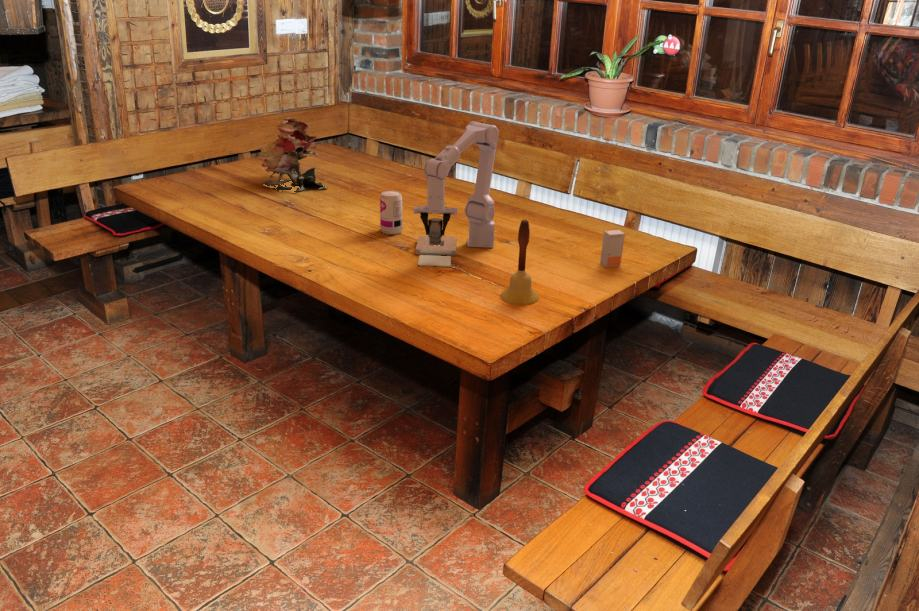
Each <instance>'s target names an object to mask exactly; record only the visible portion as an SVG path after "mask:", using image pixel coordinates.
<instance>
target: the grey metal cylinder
mask: <svg viewBox="0 0 919 611" xmlns="http://www.w3.org/2000/svg"><path fill="white" fill-rule="evenodd" d="M442 230H443V218H439V217H433V218H428V235H427V236H428V237H429V243H430V244H433V245H438V244H441V237H443V235H442Z"/></svg>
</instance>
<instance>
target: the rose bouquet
mask: <svg viewBox="0 0 919 611" xmlns="http://www.w3.org/2000/svg"><path fill="white" fill-rule="evenodd" d="M276 128H277V130H278V131H279V133H280V134H277V137H278V138H277V139H276V140H272V141H269V142H265V144H264V145H263V146H262V148H260V152H261V153H260V155H261V159H262V160H263V161H262V164H261V167H263V168H265V169H264V171H265V172H267V173H269V172H272V174H271V175H270V176H269V179H265V180H264V181H263V182H262V184H265V185H267V186H270V185H271V186H274V187H276V186H275V185H278V187H277V188H276V189H277V190H291V189H292V187H287V186H286V185H285V187H283V186H281V185H282V184H283V185H284V183H286V182H289V181H292V182H293V183H294V185H295V186H299V187H300V189H299V188H298V190H296V191H294V192H296V193H297V192H302V191H303V190H307V189H308V188H306V187H304V185H317V186H320V187H319V188H318V190H327V189H326V188H325V186H323V185H322V184H323V183H322V182H318V183H316V182H317V178H316V171H315V170H316V166H314V167H312V168H309V169H307V170H306V171H305V172H304V173H302V172H301V170H302V169H301V163H300V161H301V160H303V159H305V158H307V157H308V155H309V156H311V155H314V156H319V154H318V153H317V152H315V151H312V150H308V149H309V147H310V146H311V145H312V143H313V142H314V141H315V139H317V136H315V135H312V136H310V135H309V134H307V133H308V132H309V129H310V125H308V124H307V123H306V122H303V121H301V120H298V119H297V118H295V117H287V118H285V119H282V120H281V121H280V124H278V125H276ZM312 148H313V149H316V148H317V146H312ZM275 174H277V175H279V176H278V179H272V178H274V175H275ZM284 175H286V176H288V178H289V179H291V180H289V179H287V178H286V180H284V181H280V180H281V179H283V176H284ZM315 181H316V182H315ZM293 183H292V184H293ZM280 184H281V185H280ZM294 185H293V186H294ZM322 186H323V187H322ZM277 190H276V191H277ZM307 191H308V190H307Z"/></svg>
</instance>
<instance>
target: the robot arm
mask: <svg viewBox="0 0 919 611" xmlns="http://www.w3.org/2000/svg"><path fill="white" fill-rule="evenodd" d="M499 136H500V131H499V128H498V127H497V126H496V125H495V124H488V123H482V122H477V121H475V120H472V121H470V122H469V123H468V124H467V125H466V126H465V132H464V133H463V134H462V135H461V136H460V137H459V139H458V140H456V141H455V143H454V144H453V145H447V146H445V147H444V149H443V150H442V151H441V152H439V154H438V155H436V156H435V157H434V158H430V159H428V160H427V161H426V162H425V163H424V168H423V173H424V175H425V180H426V182H427V183H426V184H427V186H426V188H427V191H426V195H427V196H426V197H427V198H426V205H423V206H421V205H420V206H414V207H413V214H414V215H417V214H420V216H419V217H420V220H421V222H422V224H423V227H424V230H425V236H428V220H429V215H430V214H431V215H443V216H442V220H443V226H442V237H445V232H446V229H447V226H448V223H449V221H450V219H451V215H453V216H458V207H451V206H450V207H449V206H445V192H446V191H445V187H446V186H445V184H446V181H445V180H446V178H447V177H448V175H449V172H450V170H451V169H452V166H454V165H455V164H456V163H457V162H458V161H459V159H460V158H461V153H464V151H465V150H467V149H468V148H469V147H470V146H471V145H473V144H475V145H477V147H478V148H479V149H480V151H479V158H478V163H477V164H478V165H477V172H476V178H475V185H474V193H473V194H471V195H469V196H468V197H467V202H466V205H465V207H464V214H465V216H466V217H467V220H468V222H469V223H468V237H467V247H468V248H488V249H489V248H491V249H492V248H494V244H495V239H496V238H495V236H496V235H495V221H494V220H493V219H494V217H495V214H496V212H495V200H493V198H492V197H491V196H490V191H491V190H490V189H491V184H492V177H493V172H494V163H495V158H496V151H497V148H498V143H499Z"/></svg>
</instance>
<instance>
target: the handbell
mask: <svg viewBox="0 0 919 611" xmlns="http://www.w3.org/2000/svg"><path fill="white" fill-rule="evenodd" d="M518 227H519V229H518V233H517V234H518V236H517V241H518V246H519V247H518V249H519V252H518V263H517V265H518V266H517V267H518V268H517V271H516V272H514V273H512V274H511V276H510V278H509V286H508V287H507V288H506V289H504V290H503V291H502V292H500V295H499V297H500V299H501V300H502V301H503V302H505V303H507V304H509V305H516V306H529V305H533V304H536V303H537V302H538V301H539V300H540V295H539V294H538V293H537V292H536V291H535V290H534V289H533V288H532V276H531V275H530V274H529V273H527V272H526V261H527V260H526V258H527V249H528V245H529V242H530V236H531V235H530V234H531V233H530V224H529V220H527V219H523V220H521V221H520V224H519V226H518Z"/></svg>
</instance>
